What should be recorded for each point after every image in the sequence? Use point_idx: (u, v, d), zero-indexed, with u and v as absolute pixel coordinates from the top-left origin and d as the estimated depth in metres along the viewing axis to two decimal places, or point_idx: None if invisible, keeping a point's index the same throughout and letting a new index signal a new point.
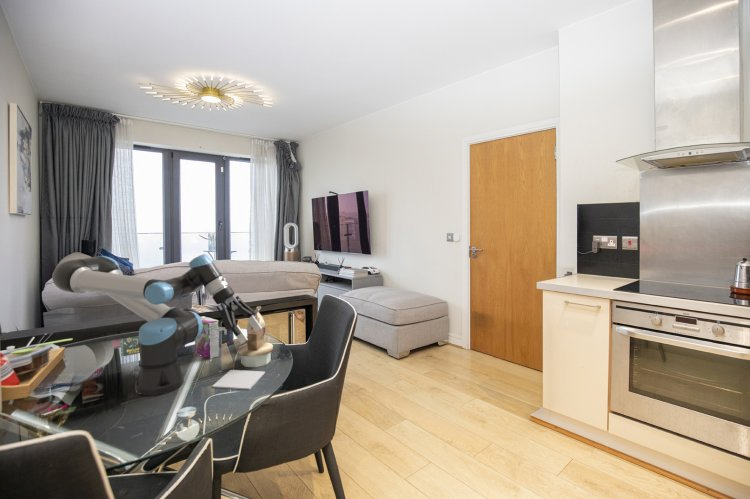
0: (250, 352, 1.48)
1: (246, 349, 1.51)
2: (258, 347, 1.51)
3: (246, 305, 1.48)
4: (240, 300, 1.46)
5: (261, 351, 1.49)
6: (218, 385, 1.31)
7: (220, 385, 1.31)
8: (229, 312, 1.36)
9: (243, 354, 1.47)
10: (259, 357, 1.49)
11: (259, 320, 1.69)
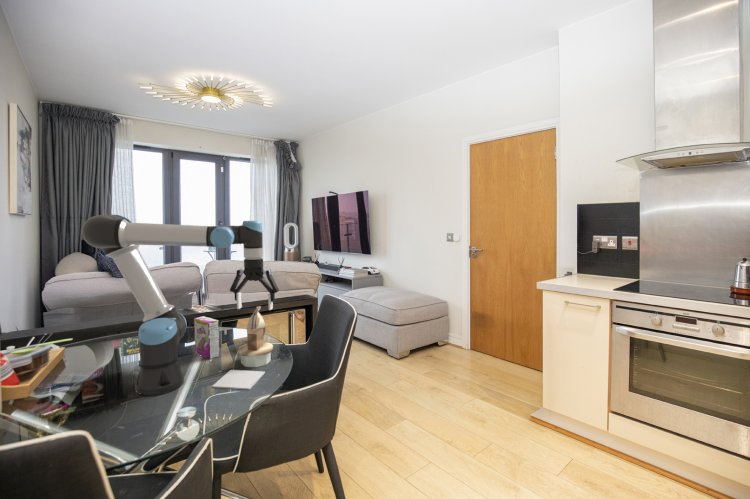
0: (250, 352, 1.48)
1: (246, 349, 1.51)
2: (258, 347, 1.51)
3: None
4: None
5: (261, 351, 1.49)
6: (218, 385, 1.31)
7: (220, 385, 1.31)
8: (264, 280, 1.50)
9: (243, 354, 1.47)
10: (259, 357, 1.49)
11: (259, 320, 1.69)
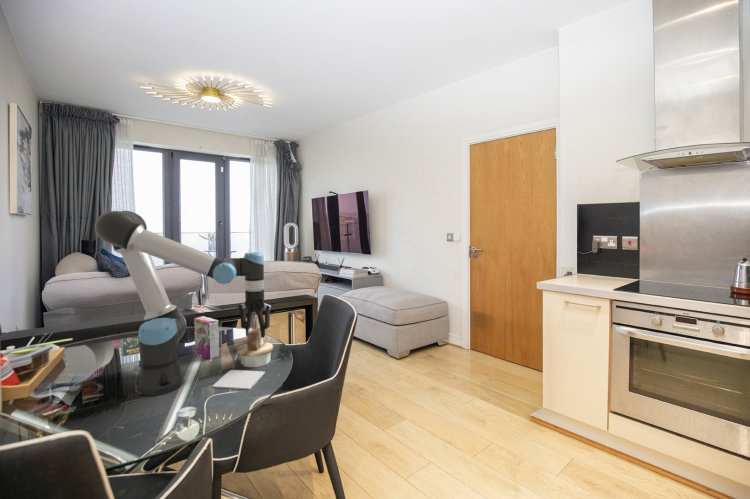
0: (250, 352, 1.48)
1: (246, 349, 1.51)
2: (258, 347, 1.51)
3: None
4: None
5: (261, 351, 1.49)
6: (218, 385, 1.31)
7: (220, 385, 1.31)
8: (261, 313, 1.52)
9: (243, 354, 1.47)
10: (259, 357, 1.49)
11: None
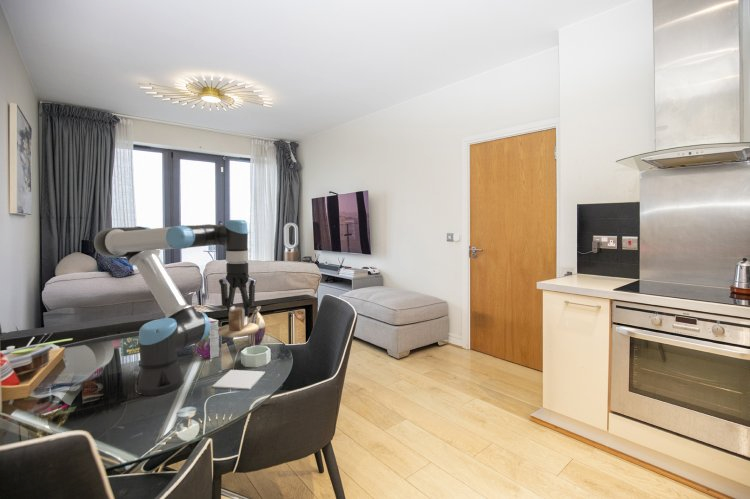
0: (232, 333, 1.29)
1: (227, 330, 1.33)
2: (241, 327, 1.33)
3: None
4: None
5: (244, 331, 1.31)
6: (218, 385, 1.31)
7: (220, 385, 1.31)
8: (245, 289, 1.34)
9: (224, 335, 1.29)
10: (259, 357, 1.49)
11: (259, 320, 1.69)
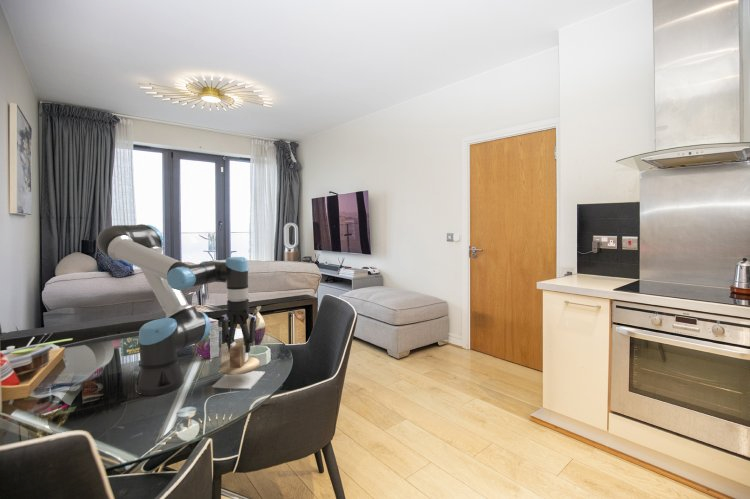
0: (232, 370, 1.31)
1: (228, 366, 1.34)
2: (242, 364, 1.34)
3: None
4: None
5: (245, 368, 1.32)
6: (218, 385, 1.31)
7: (220, 385, 1.31)
8: (246, 326, 1.35)
9: (225, 372, 1.30)
10: (259, 357, 1.49)
11: (259, 320, 1.69)
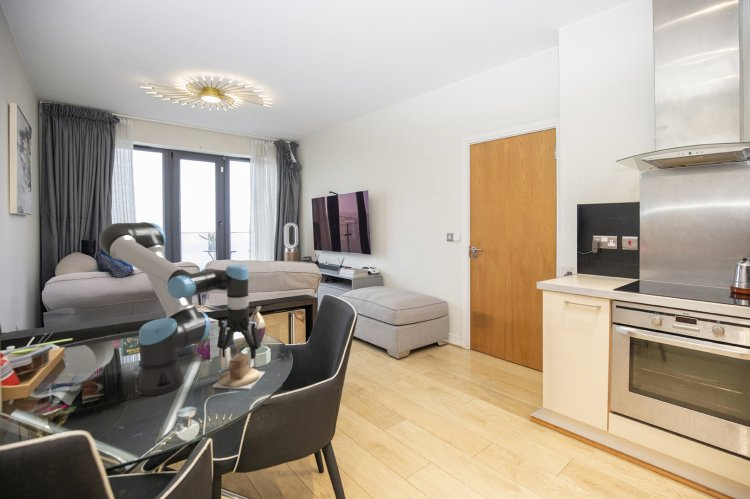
0: (233, 382, 1.31)
1: (228, 378, 1.34)
2: (242, 375, 1.35)
3: None
4: None
5: (245, 380, 1.33)
6: (218, 385, 1.31)
7: (220, 385, 1.31)
8: (248, 332, 1.35)
9: (225, 384, 1.31)
10: (259, 357, 1.49)
11: (259, 320, 1.69)
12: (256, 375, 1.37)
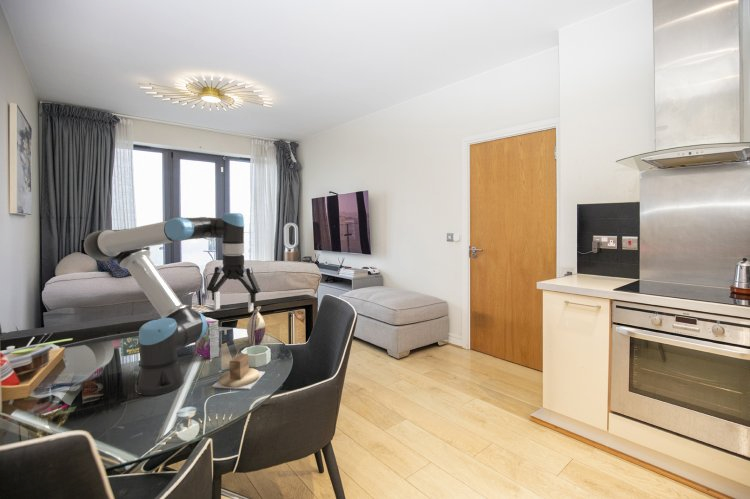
0: (233, 382, 1.31)
1: (228, 378, 1.34)
2: (242, 375, 1.35)
3: None
4: None
5: (245, 380, 1.33)
6: (218, 385, 1.31)
7: (220, 385, 1.31)
8: (244, 278, 1.37)
9: (225, 384, 1.31)
10: (259, 357, 1.49)
11: (259, 320, 1.69)
12: (256, 375, 1.37)
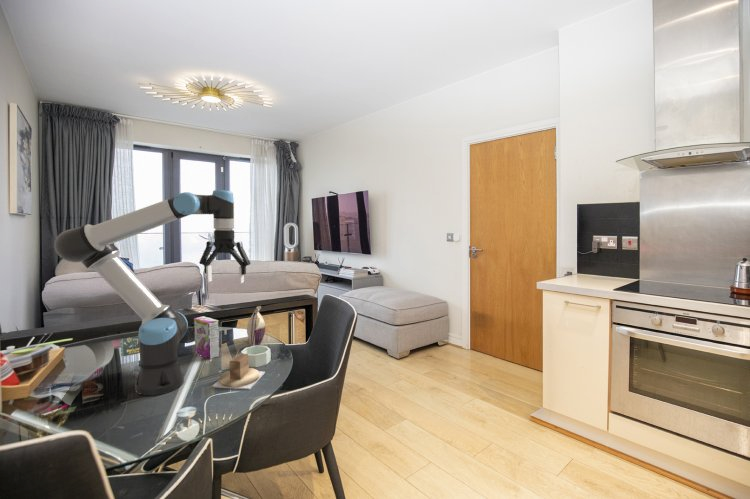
0: (233, 382, 1.31)
1: (228, 378, 1.34)
2: (242, 375, 1.35)
3: None
4: None
5: (245, 380, 1.33)
6: (218, 385, 1.31)
7: (220, 385, 1.31)
8: (235, 252, 1.46)
9: (225, 384, 1.31)
10: (259, 357, 1.49)
11: (259, 320, 1.69)
12: (256, 375, 1.37)
